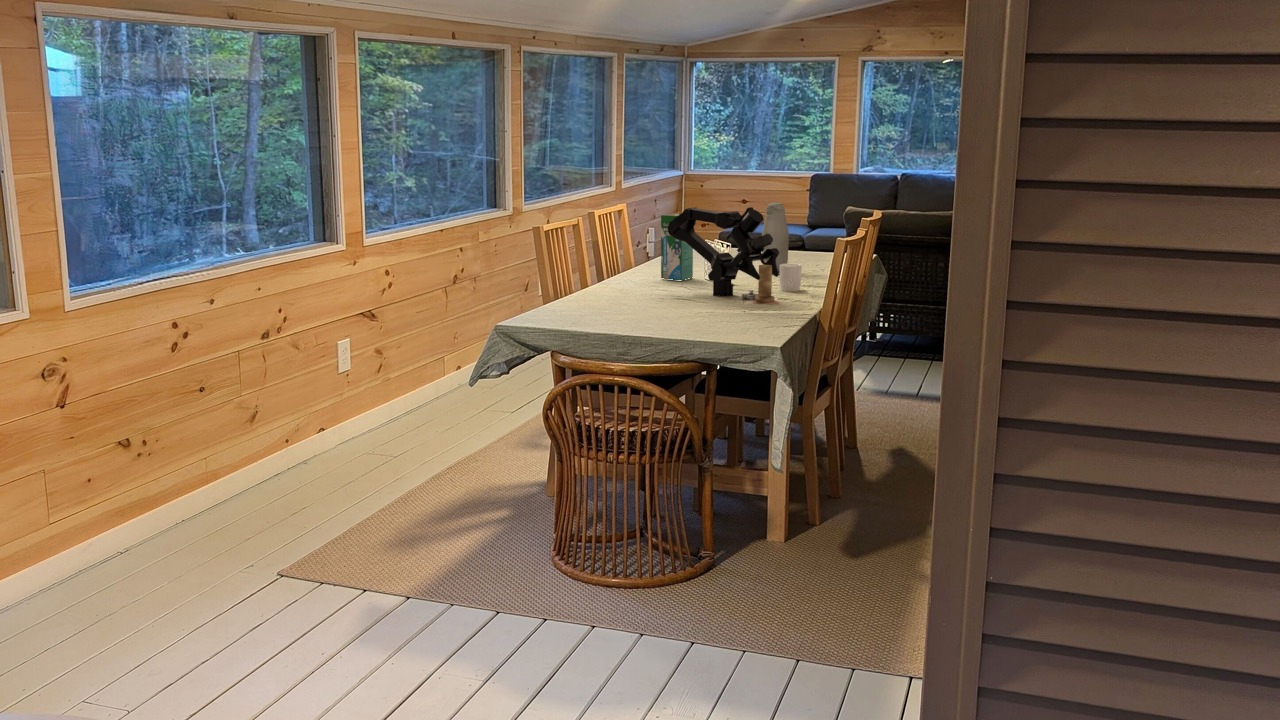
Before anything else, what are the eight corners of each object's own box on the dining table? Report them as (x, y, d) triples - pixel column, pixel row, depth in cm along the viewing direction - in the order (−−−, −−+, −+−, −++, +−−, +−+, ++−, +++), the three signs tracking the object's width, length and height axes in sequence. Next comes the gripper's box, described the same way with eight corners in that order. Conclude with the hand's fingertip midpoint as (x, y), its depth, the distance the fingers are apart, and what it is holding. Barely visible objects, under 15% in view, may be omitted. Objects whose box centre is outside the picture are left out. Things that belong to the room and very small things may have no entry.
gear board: (742, 306, 375) (742, 303, 375) (742, 299, 389) (742, 296, 388) (778, 307, 374) (778, 303, 374) (777, 299, 388) (777, 296, 387)
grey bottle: (769, 270, 456) (770, 200, 450) (791, 272, 450) (793, 201, 444) (757, 273, 448) (758, 202, 442) (779, 275, 442) (781, 203, 436)
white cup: (800, 294, 398) (801, 266, 395) (777, 294, 399) (778, 266, 397) (801, 291, 405) (802, 263, 403) (779, 290, 407) (780, 263, 405)
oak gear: (754, 302, 375) (755, 267, 373) (755, 299, 382) (756, 264, 379) (773, 303, 374) (774, 267, 372) (774, 299, 381) (775, 264, 378)
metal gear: (741, 300, 381) (741, 291, 380) (741, 297, 387) (741, 288, 387) (761, 300, 380) (761, 292, 379) (760, 297, 387) (760, 288, 386)
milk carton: (692, 278, 436) (693, 213, 431) (681, 281, 429) (681, 215, 423) (672, 276, 441) (672, 212, 435) (660, 279, 434) (660, 214, 428)
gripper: (738, 228, 369) (762, 265, 364) (776, 224, 381) (800, 259, 376) (720, 250, 377) (744, 286, 371) (758, 245, 389) (781, 280, 383)
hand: (768, 277), depth 375 cm, fingers open, 9 cm apart
